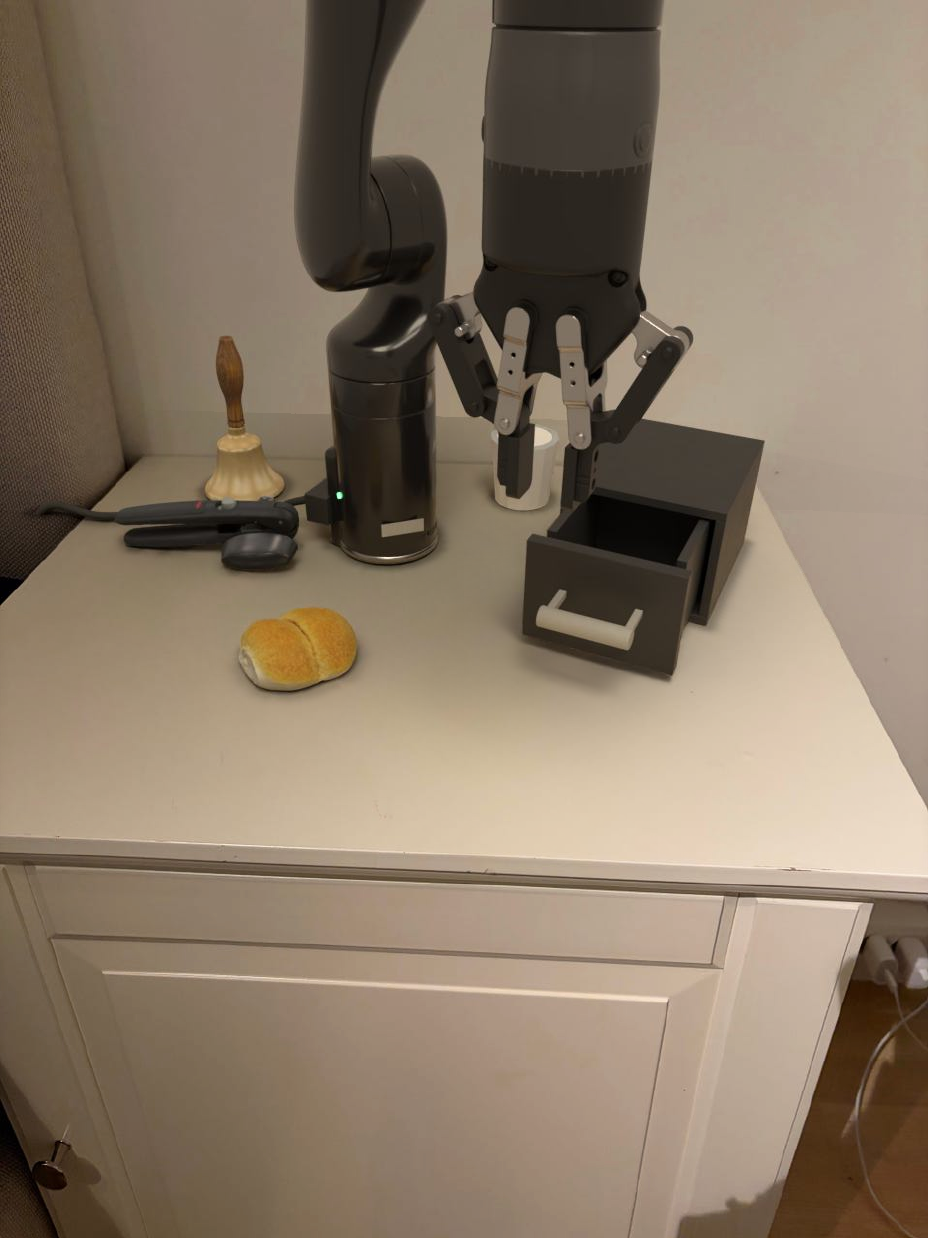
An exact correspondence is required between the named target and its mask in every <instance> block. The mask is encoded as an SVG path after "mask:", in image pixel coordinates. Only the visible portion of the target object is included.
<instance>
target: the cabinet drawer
mask: <svg viewBox="0 0 928 1238" xmlns="http://www.w3.org/2000/svg"><path fill="white" fill-rule="evenodd" d="M715 523H716V520H711V519H707V518H702V517H697V516H693V515H688V514H683V513H678V512H674V511H669V510H664V509H660V508H655V507H650V506H646V505H641V504H636V503H631V502H627V501H622V500H617V499H613V498H608V497H603V496H599V495H594V494H591V495H590V497H589V498H588V499H587V500H586V502H585V503H581V504H580V505H579V506H578V507H577V509H576V510H575V511H570V510H565V509H564V510H563V511H562V513H561V514H560V513H559V515H558V516H557V517H556V519H555V520H554V521H553V522H552V523H551V525H550V526H549V527H548V528H547V529H546V536H545V535H541V534H538V533H537V534H536V533H532V534H531V535H530V536H529V537H528V539H526V550H525V569H524V584H523V585H524V586H523V603H522V604H523V605H522V620H521V621H522V623H521V635H522V636H525V637H529V638H532V639H536V640H539V641H542V642H546V643H549V644H554V645H557V646H562V647H565V648H569V649H573V650H576V651H580V652H582V653H586V654H590V655H594V656H597V657H601V658H604V659H605V658H606V659H608V660H611V661H616V662H619V663H623V664H626V665H629V666H630V665H631V666H633V667H637V668H642V669H645V670H649V671H652V672H655V673H659V674H663V675H665V676H670V677H672V676H673V675H674V673H675V670H676V669H677V664H678V658H679V653H680V646H681V641H682V635H683V632H684V630H685V628H686V625H687V623H688V622H689V621H688V619H689V617H690V615H691V613H692V611H693V609H694V607H695V605H696V603H697V601H698V599H699V596H700V594H701V592H702V590H703V588H704V582H705V577H706V571H707V566H708V561H709V555H710V550H711V544H712V539H713V533H714V528H715Z"/></svg>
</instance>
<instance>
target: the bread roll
mask: <svg viewBox="0 0 928 1238" xmlns="http://www.w3.org/2000/svg"><path fill="white" fill-rule="evenodd" d="M351 625H352V624H350V623H349V621H348V620H347V618H345V617H344V616H343V615H342V614H341V613H339V612H337V611H335V610H333V609H330V608H328V607H327V608H326V607H322V606H310V607H309V606H308V607H296V608H293V609H292V610H289V611H286V612H285V613H283V614H282V615H280V616H279V617H278V618H263V619H259V620H256V621H253V622H252V623H250V624H249V626H247V628H246V629H245V631H243V633H242V635H241V636H240V637H241V638H240V645H239V654H238V661H239V663H240V665H241V668H242V669H243V671H244V673H245V674H246V675H247V677H248V678H249V680H251V681H252V682H253V683H254V684H255V685H256V686H257V687H259V688H262V689H266V690H270V691H287V692H288V691H297V690H302V689H306V688H308V687H310V686H313V685H316V684H318V683H320V682H321V681H330V680H333V679H336V678H338V677H340V676H342V675H343V674H345V673H346V672H347V671H349V670H350V669H351V667H352V666H353V663H354V661H355V658H356V655H357V652H358V642H357V637H356V636H357V635H356V633H355V631H354V628H353V627H352V626H351Z"/></svg>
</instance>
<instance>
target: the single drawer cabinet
mask: <svg viewBox="0 0 928 1238" xmlns="http://www.w3.org/2000/svg"><path fill="white" fill-rule="evenodd" d="M765 443H766V441H765V440H764V439H759V438H752V437H747V436H742V435H735V434H731V433H724V432H719V431H713V430H708V429H703V428H698V427H697V428H696V427H692V426H687V425H680V424H675V423H671V422H670V423H669V422H663V421H659V420H654V419H653V420H652V419H648V418H647V419H646V418H642V419H641V420H640V422H639V423H638V424H637V425H636V427H635V428H634V429H633V430H632V432H631V433H630V434H629V435H628V436H627V438H626V439H625V440H624V441H623V442H622V443H619V444H613V443H610V442H606V443H601V451H600V461H599V468H598V469H599V471H598V481H597V486H596V488H595V489H594V491H593V493H592V494H594V495H599V496H603V497H608V498H613V499H617V500H622V501H627V502H631V503H636V504H641V505H646V506H650V507H655V508H660V509H664V510H669V511H674V512H678V513H683V514H688V515H693V516H697V517H702V518H707V519H711V520H716V523H715V528H714V533H713V539H712V544H711V550H710V555H709V561H708V566H707V571H706V577H705V582H704V588H703V590H702V592H701V594H700V596H699V599H698V601H697V603H696V605H695V607H694V609H693V611H692V613H691V615H690V617H689V619H688V621H687V622H690V623H694V624H697V625H701V626H707V624H708V622H709V621H710V618H711V616H712V614H713V612H714V609H715V608H716V605H717V602H718V601H719V599H720V596H721V594H722V592H723V590H724V587H725V585H726V583H727V581H728V579H729V576H730V574H731V572H732V569H733V568H734V565H735V563H736V561H737V559H738V556H739V554H740V552H741V551H742V549H743V545H744V542H745V538H746V534H747V529H748V525H749V519H750V515H751V510H752V504H753V500H754V495H755V491H756V485H757V481H758V477H759V471H760V467H761V461H762V457H763V452H764V447H765ZM563 510H564V509H561V507H560V509H559V515H560V514H561V513H562V511H563Z"/></svg>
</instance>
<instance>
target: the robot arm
mask: <svg viewBox="0 0 928 1238" xmlns="http://www.w3.org/2000/svg"><path fill="white" fill-rule="evenodd" d="M426 2H427V0H305V5H304V6H305V7H304V9H305V10H304V13H305V14H304V53H303V58H304V59H303V75H302V76H303V77H302V78H303V79H302V92H301V93H302V94H301V105H300V114H299V126H298V136H297V149H296V161H295V162H296V163H295V176H294V189H293V191H294V192H293V196H294V197H293V221H294V231H295V238H296V244H297V247H298V252H299V256H300V259H301V263H302V264H303V267H304V269H305V271H306V274H308V276H309V277H310V279H311V280H312V282H314V283H315V285H316V286H317V287H319V288H320V289H323V290H325V291H327V292H331V293H350V292H355V291H360V290H361V291H362V290H365V289H367V290H366V292H365V294H364V296H363V298H362V299H361V300H360V302H359V304H358V305H357V306H356V307H355V308H354V309H353V310H351V312H350V313H348V314H347V315H346V316H345V317H344V318H343V319H341V320H340V321H339V322H338V323H336V324H335V325H334V326H333V327H332V328H331V329H330V330H329V332H328V334H327V337H326V343H325V349H326V350H325V352H326V362H327V363H326V365H327V375H328V377H327V378H328V391H329V401H330V414H331V415H330V416H331V429H332V441H333V444H332V445H331V446H329V447H328V448H327V449H326V450H325V452H324V461H325V462H324V463H325V475H326V478H325V477H324V479H322V480H321V481H320V482H318V483H317V484H316V485H314V486H313V487H312V488H310V489H309V490H307V491H306V492H305V493H304V494H303V495H301V496H297V497H292V498H289V499H286V500H283V501H282V502H285V503H289V504H291V505H292V506H294V507H296V506H301V505H305V516H306V521H307V522H310V523H314V524H319V525H323V526H327V527H330V536H331V544H333V545H336V546H340V548H341V550H343V552H344V553H346V554H347V556H350V557H351V558H353V559H355V560H358V561H361V562H364V563H368V564H369V563H370V564H376V565H396V564H404V563H410V562H412V561H415V560H418V559H421V558H423V557H424V556H427V555H428V554H429V553H431V552H432V551H433V550H434V549H435V548H436V546H437V545H438V541H439V530H438V510H437V509H438V508H437V507H438V505H437V504H438V492H437V491H438V490H437V489H438V488H437V485H438V484H437V483H438V482H437V480H438V479H437V478H438V477H437V475H438V473H437V383H436V382H437V380H436V379H437V375H436V374H437V373H436V371H437V369H436V361H437V360H436V355H437V347H438V349H439V352H440V354H441V356H442V359H443V362H444V364H445V367H446V369H447V371H448V373H449V376H450V378H451V381H452V384H453V385H454V388H455V390H456V394H457V395H458V397H459V400H460V403H461V405H462V408H463V409H464V412H465V413H466V415H467V416H469V417H471V418H475V419H477V418H480V417H481V418H483V419H485V420H487V421H488V422H490V423H491V424H492V425H494V429H496V430H497V431H498V461H497V465H498V467H497V477H498V480H499V483H500V485H502V486H506V496H507V497H510V498H515V499H520V498H521V497H522V496H523V495H524V494H525V493H526V492H527V491H528V490H529V488H530V486H531V483H532V473H533V455H534V437H535V424H536V423H533V422H531V416H532V415H533V410H534V406H535V401H536V394H537V390H538V385H539V382H540V380H541V378H542V376H543V374H544V373H545V374H548V375H551V376H553V377H556V378H557V379H560V384H561V400H562V403H563V405H564V406H565V408H566V420H567V421H566V422H567V437H568V444H566V446H564V452H563V453H564V454H563V466H562V478H561V493H560V505H559V506H560V508H561V509H565V510H570V511H575V510H576V509H577V507H578V506H579V505H580V504H581V503H585V502H586V500H587V499H588V498H589V497H590V495H591V494H592V493H593V491H594V489H595V488H596V486H597V481H598V471H599V469H598V468H599V461H600V451H601V443H606V442H610V443H613V444H619V443H622V442H623V441H624V440H625V439H626V438H627V436H628V435H629V434H630V433H631V432H632V430H633V429H634V428H635V427H636V425H637V424H638V423H639V422H640V420H641V419H643V417H644V416H645V415H646V413H647V412H648V410H649V408H650V407H651V406H652V404H653V402H654V401H655V400H656V399H657V397H658V395H659V394H660V392H661V391H662V389H663V388H664V387H665V385H666V384H667V382H668V380H669V379H670V378H671V376H672V375H673V373H674V371H675V370H676V369H677V367H678V366H679V364H680V363H681V362H682V360H683V359H684V358H685V356H686V354H687V353H688V351H689V350H690V349H691V347H692V345H693V344H694V335H693V332H692V331H691V329H690V328H688V327H687V326H685V325H678V326H675V327H671V326H669V325H668V324H666V323H665V322H664V321H663V320H661V319H660V318H657V317H656V316H655V315H653V314H652V313H651V312H649V311H647V307H648V304H647V298H646V294H645V292H644V289H643V286H642V283H641V267H642V257H643V249H644V240H645V231H646V221H647V213H648V206H649V205H648V204H649V197H650V188H651V187H650V186H651V179H652V177H651V176H652V168H653V162H654V161H653V160H654V150H655V142H656V135H657V126H658V125H657V124H658V116H659V106H660V96H661V95H660V94H661V35H662V31H661V29H660V27H662V25H663V16H664V7H665V0H492V3H491V4H492V5H491V6H492V7H491V24H492V25H494V26H492V27H491V34H490V45H489V46H490V47H489V54H488V62H487V68H486V75H485V83H484V97H483V98H484V99H483V101H484V103H483V110H484V111H483V116H482V119H481V128H480V133H481V134H480V135H481V141H482V143H483V152H482V153H483V154H482V203H481V204H482V205H481V207H482V208H481V254H482V267H481V270H480V274H479V275H478V277H477V278H476V280H475V283H474V285H473V291H471V292H468V293H465V294H464V295H463V294H462V295H460V294H454V295H452V296H450V297H448V298H446V284H447V266H448V265H447V264H448V241H449V240H448V238H449V237H448V217H447V211H446V204H445V199H444V195H443V191H442V188H441V185H440V183H439V181H438V179H437V177H436V175H435V173H434V172H433V170H432V169H431V168H430V167H429V165H428V164H427V163H426V162H425V161H424V160H422V159H420V157H419V158H418V157H417V156H414V155H412V154H403V153H398V154H397V153H396V154H387V155H386V154H385V155H379V156H378V155H377V156H376V155H375V156H372V155H373V145H374V137H375V136H374V135H375V128H376V121H377V116H378V110H379V106H380V103H381V100H382V99H381V98H382V95H383V91H384V89H385V86H386V83H387V80H388V77H389V75H390V73H391V71H392V69H393V66H394V64H395V63H396V61H397V58H398V57H399V54H400V52H401V51H402V48H403V47H404V45H405V43H406V41H407V39H408V37H409V35H410V33H411V31H412V30H413V28H414V26H415V24H416V22H417V20H418V19H419V16H420V15H421V13H422V12H423V11H422V10H423V8H424V6H425V4H426ZM483 320H484V322H485V324H486V325H487V327H488V329H489V331H490V332H491V334H492V336H493V338H494V339H495V341H496V343H497V345H498V346H499V348H500V350H501V357H500V363H499V369H498V374H496V373H497V372H496V371H495V368H494V366H493V363H492V360H491V359H490V355H489V353H488V350H487V348H486V345H485V343H484V341H483V338H482V335H481V331H482V330H483V324H484V323H483ZM631 334H632V335H633V336H634V337H635V339H636V347H635V351H634V353H633V359H634V362H635V364H636V365H637V367H639V368H641V369H640V371H639V372H638V375H636V377H635V378H634V381H633V382H632V383H631V385H630V387H629V388H628V390H627V391H626V393H625V394H624V395H623V397H622V399H621V400H620V402H619V403H618V405H617V407H616V408H615V409H610V410H606V389H607V385H608V359H609V358H610V357H611V356H612V355H613V353H615V352H616V351H617V349H618V348H619V347H620V346H621V345H622V344H623V343H624V341H626V340H627V338H629V336H630V335H631ZM52 510H61V511H65V512H69V513H71V514H75V515H78V516H81V517H83V518H87V519H92V520H99V521H115V516H116V514H117V513H118V512H119V511H95V510H90V509H86V508H83V507H80V506H78V505H75V504H71V503H68V502H63V501H57V500H55V501H49V502H46V503H44V504H42V505H41V506H40V507H39V508H38V509H37V510H36V511H35V514H34V515H35V516H43V515H45V514H47V513H48V512H49V511H52Z"/></svg>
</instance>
